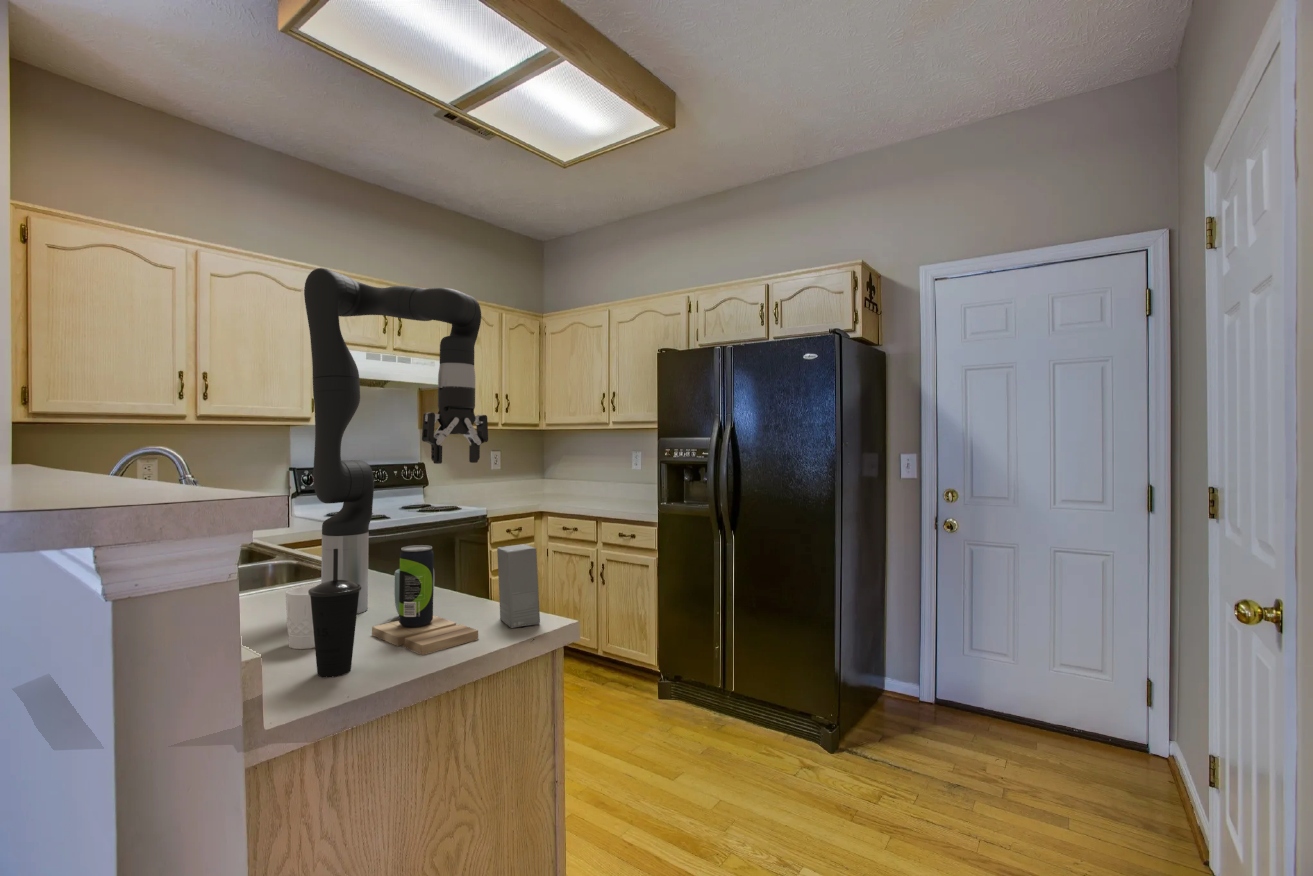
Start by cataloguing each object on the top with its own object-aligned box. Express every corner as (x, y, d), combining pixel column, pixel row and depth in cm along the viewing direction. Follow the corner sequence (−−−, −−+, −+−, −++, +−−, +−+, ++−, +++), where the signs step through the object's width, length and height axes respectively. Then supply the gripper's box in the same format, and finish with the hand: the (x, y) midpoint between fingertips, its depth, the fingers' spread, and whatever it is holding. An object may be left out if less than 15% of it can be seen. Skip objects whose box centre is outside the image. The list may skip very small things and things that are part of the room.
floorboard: (401, 646, 113) (401, 636, 113) (457, 631, 121) (457, 623, 121) (422, 655, 108) (422, 645, 108) (478, 639, 117) (478, 630, 117)
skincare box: (540, 625, 126) (541, 548, 127) (506, 630, 123) (507, 550, 123) (528, 614, 134) (528, 542, 134) (495, 619, 130) (496, 544, 131)
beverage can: (438, 623, 121) (439, 547, 121) (408, 630, 116) (409, 551, 116) (422, 617, 125) (423, 543, 125) (392, 624, 120) (393, 547, 120)
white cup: (326, 634, 119) (326, 582, 119) (339, 643, 114) (340, 589, 114) (279, 643, 114) (280, 589, 114) (291, 653, 108) (292, 597, 108)
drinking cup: (320, 664, 103) (322, 545, 103) (367, 663, 104) (369, 544, 104) (297, 681, 96) (299, 553, 96) (348, 680, 96) (350, 553, 96)
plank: (371, 634, 119) (371, 626, 119) (429, 621, 128) (429, 613, 128) (397, 646, 112) (398, 637, 113) (456, 631, 122) (456, 622, 122)
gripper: (475, 389, 138) (474, 462, 137) (415, 384, 127) (415, 463, 126) (495, 388, 133) (495, 463, 133) (435, 382, 122) (434, 464, 122)
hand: (455, 463), depth 130 cm, fingers open, 8 cm apart
